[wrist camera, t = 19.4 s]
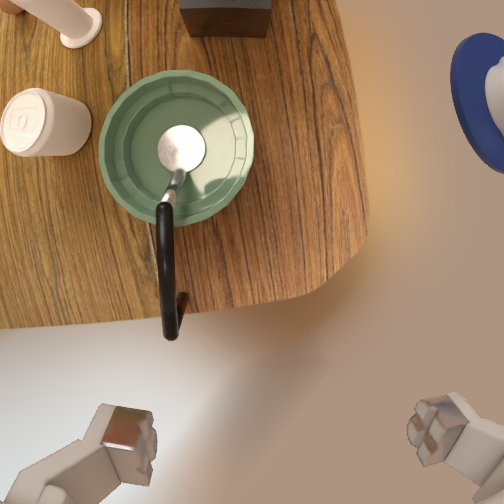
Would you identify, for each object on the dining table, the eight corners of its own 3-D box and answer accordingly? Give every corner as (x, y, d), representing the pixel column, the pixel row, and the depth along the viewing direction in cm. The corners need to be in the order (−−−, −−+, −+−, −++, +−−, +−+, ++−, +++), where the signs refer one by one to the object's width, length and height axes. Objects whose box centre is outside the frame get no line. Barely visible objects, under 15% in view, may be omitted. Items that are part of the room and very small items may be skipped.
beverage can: (87, 158, 39) (40, 160, 27) (43, 152, 38) (-8, 154, 26) (99, 102, 37) (55, 85, 25) (54, 99, 36) (5, 87, 24)
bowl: (254, 85, 37) (257, 70, 31) (248, 217, 42) (250, 228, 35) (122, 88, 36) (103, 76, 30) (119, 215, 41) (99, 225, 34)
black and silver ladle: (160, 126, 37) (133, 119, 27) (206, 125, 38) (195, 117, 27) (163, 299, 45) (144, 342, 34) (204, 301, 45) (196, 345, 35)
